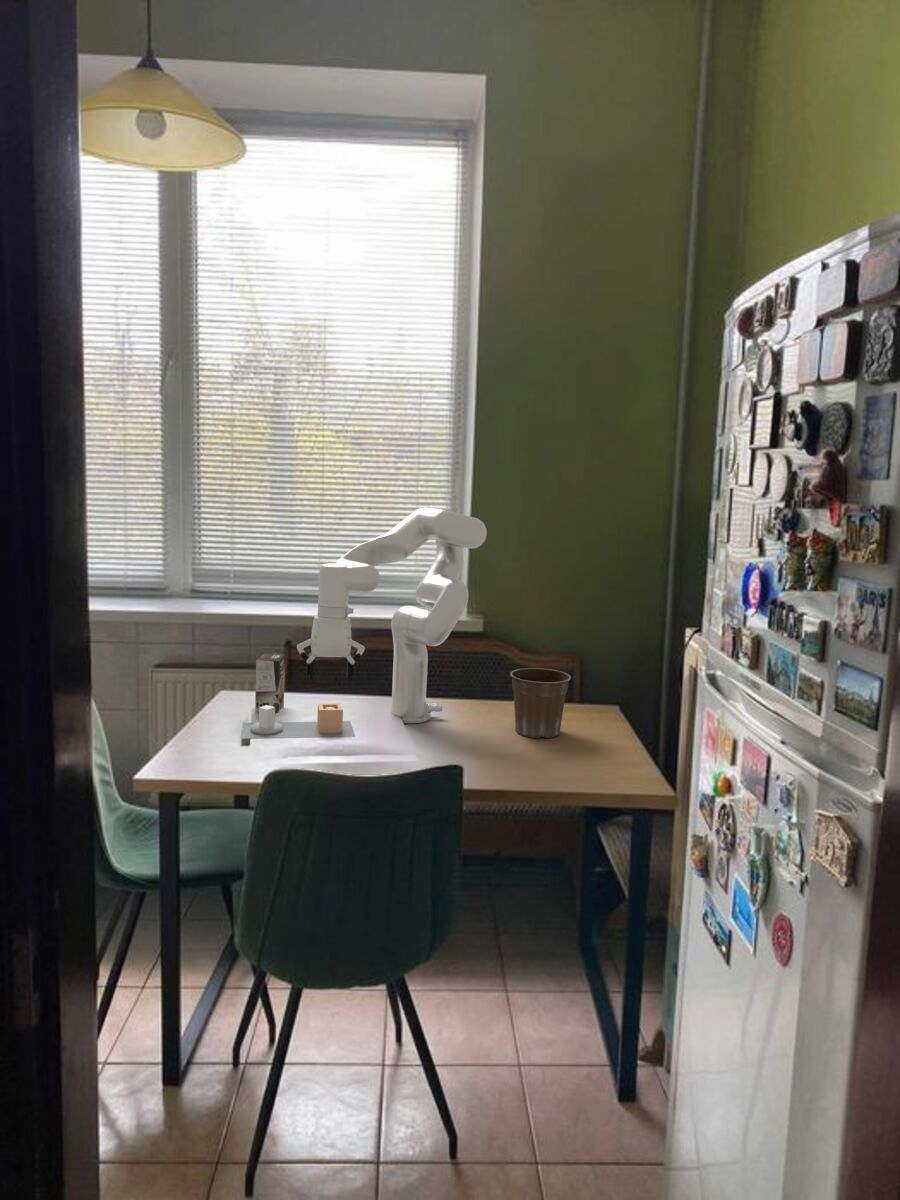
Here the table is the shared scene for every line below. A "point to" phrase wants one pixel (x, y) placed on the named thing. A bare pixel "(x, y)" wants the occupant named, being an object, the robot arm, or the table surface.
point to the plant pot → (539, 701)
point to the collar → (330, 718)
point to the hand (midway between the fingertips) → (329, 678)
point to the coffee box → (270, 681)
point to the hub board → (287, 728)
